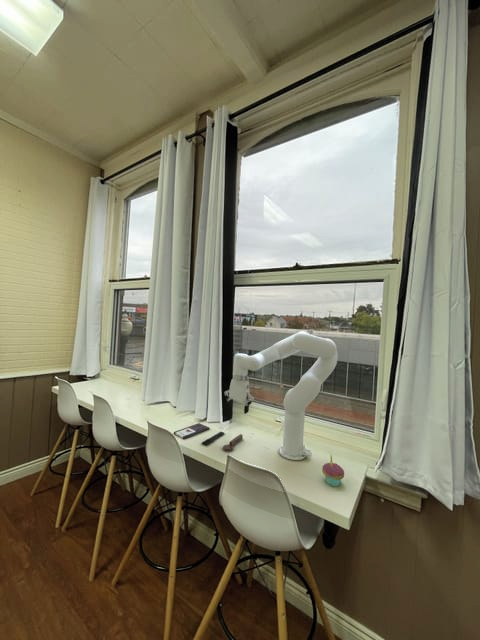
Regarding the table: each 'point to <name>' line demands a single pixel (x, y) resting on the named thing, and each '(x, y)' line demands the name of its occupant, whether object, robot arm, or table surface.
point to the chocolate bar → (191, 430)
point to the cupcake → (333, 473)
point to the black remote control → (212, 438)
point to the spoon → (232, 443)
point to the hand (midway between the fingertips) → (237, 410)
